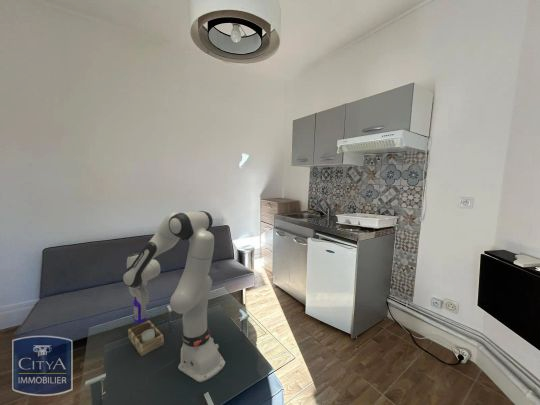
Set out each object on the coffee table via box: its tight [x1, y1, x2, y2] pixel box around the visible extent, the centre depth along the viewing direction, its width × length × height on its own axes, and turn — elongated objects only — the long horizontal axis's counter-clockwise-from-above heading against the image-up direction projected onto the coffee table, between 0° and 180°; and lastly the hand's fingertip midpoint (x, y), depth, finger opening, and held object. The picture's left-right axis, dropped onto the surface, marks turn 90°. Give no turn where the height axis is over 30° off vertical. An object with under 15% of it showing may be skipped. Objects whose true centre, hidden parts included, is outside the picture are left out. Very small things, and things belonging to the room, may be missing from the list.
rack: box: [127, 320, 165, 357], centre depth 124 cm, size 20×11×6 cm, turn 46°
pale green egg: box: [142, 329, 155, 344], centre depth 121 cm, size 6×6×7 cm
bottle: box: [132, 297, 147, 324], centre depth 126 cm, size 7×6×17 cm
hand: (140, 306), depth 126 cm, fingers closed on bottle, 7 cm apart
